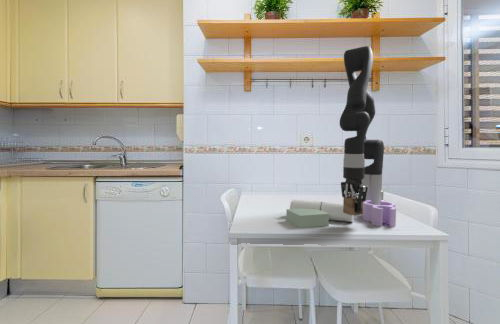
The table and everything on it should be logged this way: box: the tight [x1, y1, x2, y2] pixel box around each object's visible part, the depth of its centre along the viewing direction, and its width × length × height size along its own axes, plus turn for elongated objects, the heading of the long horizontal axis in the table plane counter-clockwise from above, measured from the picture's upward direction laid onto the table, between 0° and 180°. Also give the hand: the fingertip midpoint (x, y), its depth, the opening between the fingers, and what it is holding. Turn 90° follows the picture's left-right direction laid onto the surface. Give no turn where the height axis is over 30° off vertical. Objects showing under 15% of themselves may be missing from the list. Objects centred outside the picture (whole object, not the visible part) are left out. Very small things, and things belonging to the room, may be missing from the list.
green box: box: [285, 208, 330, 229], centre depth 125 cm, size 12×12×5 cm
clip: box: [362, 199, 397, 228], centre depth 130 cm, size 20×12×7 cm, turn 170°
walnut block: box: [342, 196, 363, 216], centre depth 120 cm, size 5×5×6 cm
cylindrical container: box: [289, 199, 355, 223], centre depth 132 cm, size 7×7×25 cm
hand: (353, 210), depth 120 cm, fingers closed on walnut block, 5 cm apart
